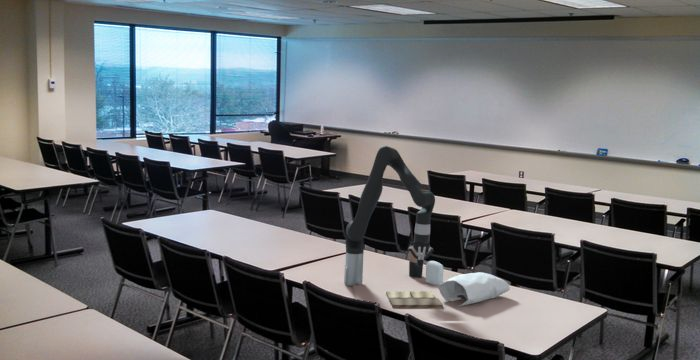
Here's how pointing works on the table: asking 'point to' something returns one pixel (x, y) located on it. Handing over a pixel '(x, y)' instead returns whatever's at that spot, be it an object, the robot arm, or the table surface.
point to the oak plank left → (397, 295)
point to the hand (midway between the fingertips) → (419, 266)
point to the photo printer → (434, 273)
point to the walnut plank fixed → (415, 303)
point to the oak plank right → (422, 294)
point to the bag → (473, 287)
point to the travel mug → (414, 264)
